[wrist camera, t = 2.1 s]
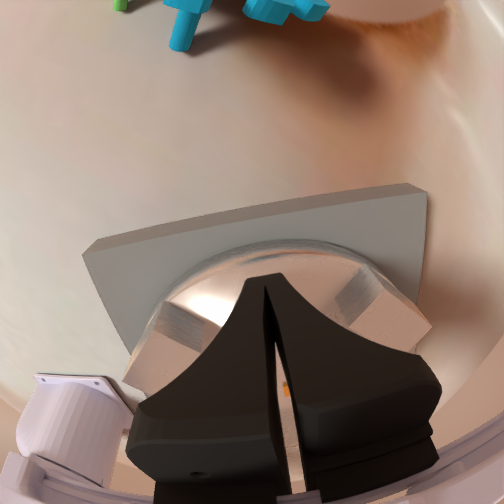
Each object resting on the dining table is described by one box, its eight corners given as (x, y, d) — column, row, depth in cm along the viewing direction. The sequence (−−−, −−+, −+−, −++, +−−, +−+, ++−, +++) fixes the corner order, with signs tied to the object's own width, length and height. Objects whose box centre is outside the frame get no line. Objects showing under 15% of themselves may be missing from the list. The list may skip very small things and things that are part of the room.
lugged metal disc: (193, 435, 20) (190, 476, 16) (101, 271, 13) (66, 318, 10) (384, 402, 19) (400, 439, 16) (414, 214, 13) (463, 247, 9)
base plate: (188, 420, 22) (186, 440, 20) (96, 239, 15) (80, 256, 13) (384, 386, 22) (392, 404, 20) (407, 183, 14) (429, 193, 12)
